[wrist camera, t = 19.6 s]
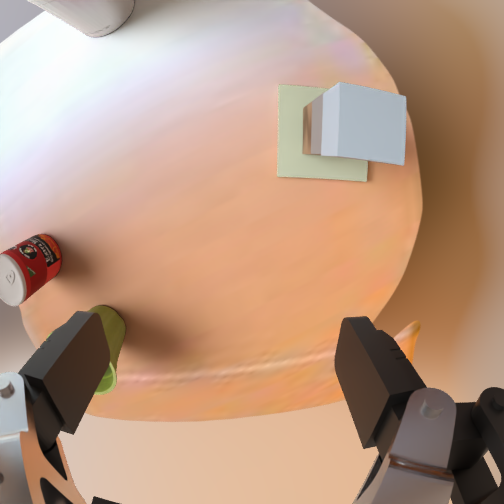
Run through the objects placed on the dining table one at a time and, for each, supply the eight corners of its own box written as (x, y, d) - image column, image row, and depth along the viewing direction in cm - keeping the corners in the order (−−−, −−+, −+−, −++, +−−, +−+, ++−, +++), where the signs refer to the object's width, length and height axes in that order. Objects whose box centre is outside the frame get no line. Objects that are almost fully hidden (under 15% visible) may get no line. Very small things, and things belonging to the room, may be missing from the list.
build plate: (278, 86, 33) (279, 84, 32) (365, 96, 33) (368, 94, 32) (277, 176, 37) (277, 176, 36) (363, 181, 37) (366, 181, 36)
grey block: (312, 101, 28) (323, 92, 23) (362, 108, 28) (381, 101, 24) (310, 153, 30) (322, 153, 25) (361, 158, 30) (380, 160, 25)
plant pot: (67, 298, 42) (32, 333, 31) (121, 286, 41) (90, 325, 30) (96, 354, 45) (71, 395, 35) (150, 348, 45) (130, 394, 34)
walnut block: (303, 108, 33) (311, 101, 28) (348, 112, 33) (362, 107, 28) (302, 154, 35) (311, 154, 30) (347, 157, 35) (361, 158, 30)
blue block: (323, 93, 23) (339, 81, 19) (381, 103, 24) (406, 96, 19) (320, 155, 25) (337, 156, 21) (378, 162, 26) (404, 165, 21)
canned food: (69, 250, 39) (29, 278, 29) (54, 286, 41) (18, 317, 31) (38, 223, 37) (-6, 243, 27) (25, 259, 39) (-14, 284, 29)
